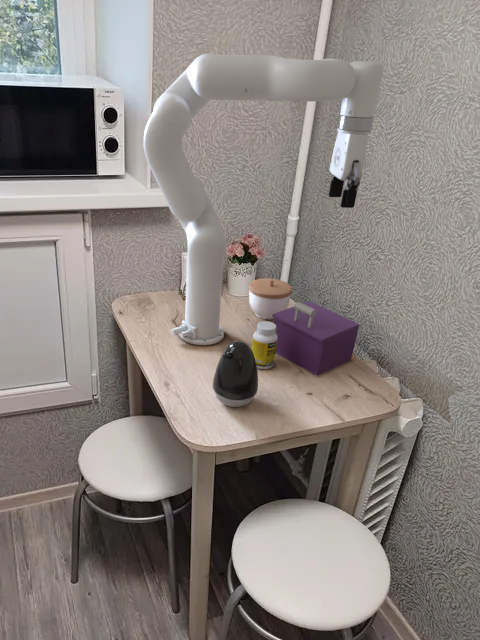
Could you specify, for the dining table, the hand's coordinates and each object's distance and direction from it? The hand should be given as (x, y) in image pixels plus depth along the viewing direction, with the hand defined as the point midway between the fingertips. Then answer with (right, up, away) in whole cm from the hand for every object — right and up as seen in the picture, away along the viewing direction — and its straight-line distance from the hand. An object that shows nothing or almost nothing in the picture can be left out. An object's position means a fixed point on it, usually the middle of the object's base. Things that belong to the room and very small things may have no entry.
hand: (340, 202), depth 128 cm
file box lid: (-5, -29, +5) cm, 30 cm away
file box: (-5, -37, +11) cm, 39 cm away
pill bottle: (-19, -40, +6) cm, 44 cm away
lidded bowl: (-14, -24, +31) cm, 41 cm away
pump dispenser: (-27, -49, -8) cm, 56 cm away
